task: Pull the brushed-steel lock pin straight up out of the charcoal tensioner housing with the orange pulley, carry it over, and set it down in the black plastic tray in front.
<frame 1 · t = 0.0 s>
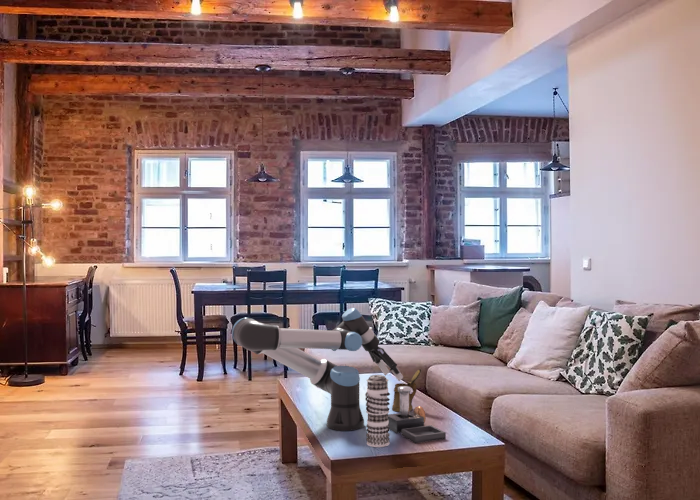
hand: (394, 376, 288), 15 cm above the table, tool tilted 35°, fingers open, 13 cm apart
wooden mug: (407, 410, 290), on the table
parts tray: (423, 437, 247), on the table
decorative candle: (378, 444, 240), on the table
tensioner housing: (404, 428, 259), on the table
lock pin: (404, 428, 259), resting in tensioner housing
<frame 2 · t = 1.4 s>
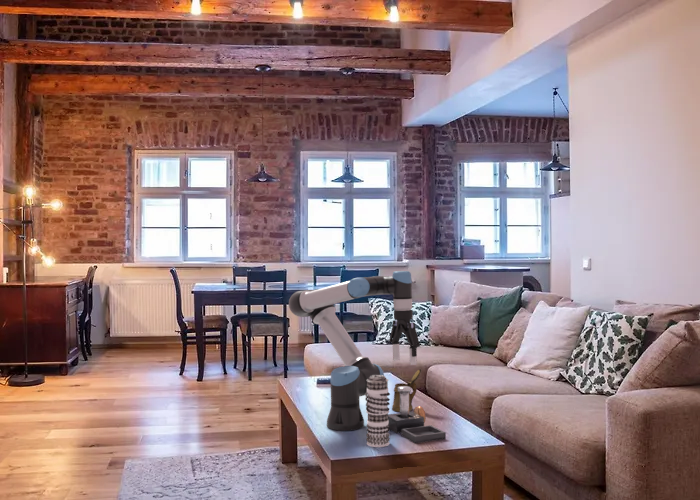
hand: (404, 362, 261), 26 cm above the table, tool pointing down, fingers open, 13 cm apart
nothing on the table moved.
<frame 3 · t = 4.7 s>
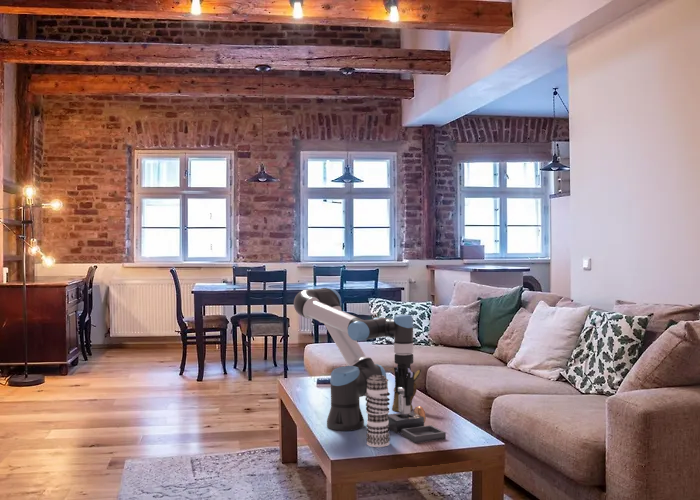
hand: (404, 412, 259), 7 cm above the table, tool pointing down, fingers closed on lock pin, 3 cm apart
lock pin: (404, 428, 259), resting in tensioner housing, touching gripper
everything else where it was.
when the fingers open (9 cm above the table, at t = 11.7 s): lock pin stays where it is, resting on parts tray.
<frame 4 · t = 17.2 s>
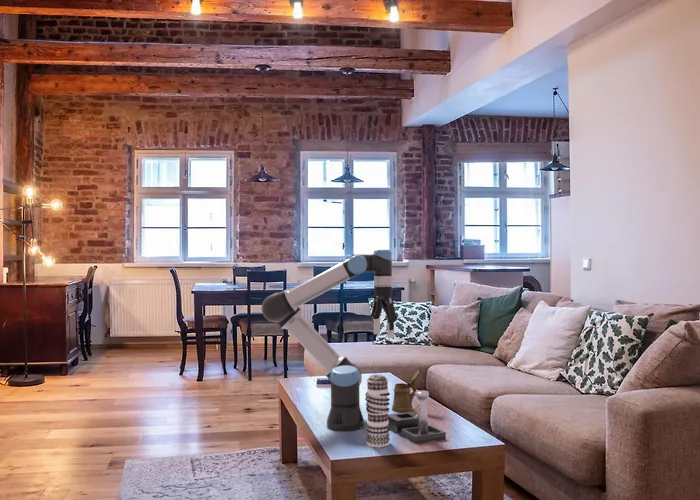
hand: (383, 335, 276), 35 cm above the table, tool pointing down, fingers open, 13 cm apart
lock pin: (423, 434, 247), point 1 cm above the table, touching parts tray
everything else where it was.
at the end: lock pin inside the target area on the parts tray (0.0 cm from its centre), point 0.9 cm above the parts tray's base; the gripper is holding nothing; lock pin moved 13.6 cm from its start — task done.
